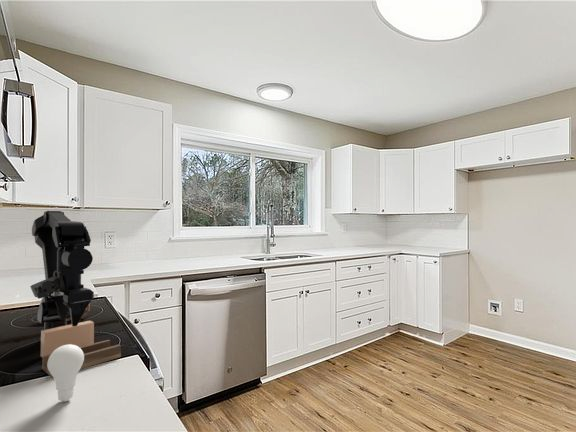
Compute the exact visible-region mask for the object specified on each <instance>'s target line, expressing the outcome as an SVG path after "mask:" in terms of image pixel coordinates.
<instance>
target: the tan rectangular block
mask: <svg viewBox="0 0 576 432" xmlns="http://www.w3.org/2000/svg"><path fill="white" fill-rule="evenodd" d="M40 338H41V340H40V357H41V358H42V357H43V356H47V355H50V354H52V352H53V351H54V350H56V349H57V348H59V347H61V346H63V345H68V344H72V345H76V346H78V347H82V346H86V345H89V344H93V343H95V322H94V321H93V320H86V321H82V322H79V323H78V325H77V326H72V323H71V324H67V325H66V326H61V327H56V328H51V329H47V330H44V329H42V330H41V331H40Z"/></svg>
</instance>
